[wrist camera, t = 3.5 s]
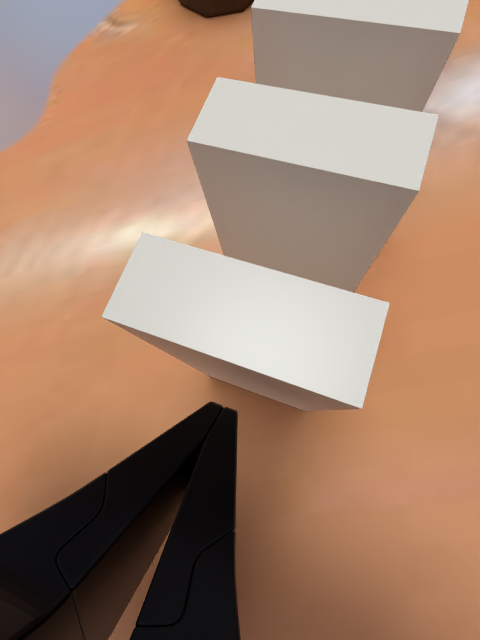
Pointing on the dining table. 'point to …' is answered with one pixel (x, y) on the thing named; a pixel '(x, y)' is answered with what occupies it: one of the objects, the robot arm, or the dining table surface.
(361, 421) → the dining table surface
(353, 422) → the dining table surface
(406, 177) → the domino
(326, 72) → the domino
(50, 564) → the robot arm
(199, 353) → the domino
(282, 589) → the dining table surface
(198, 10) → the beer bottle
